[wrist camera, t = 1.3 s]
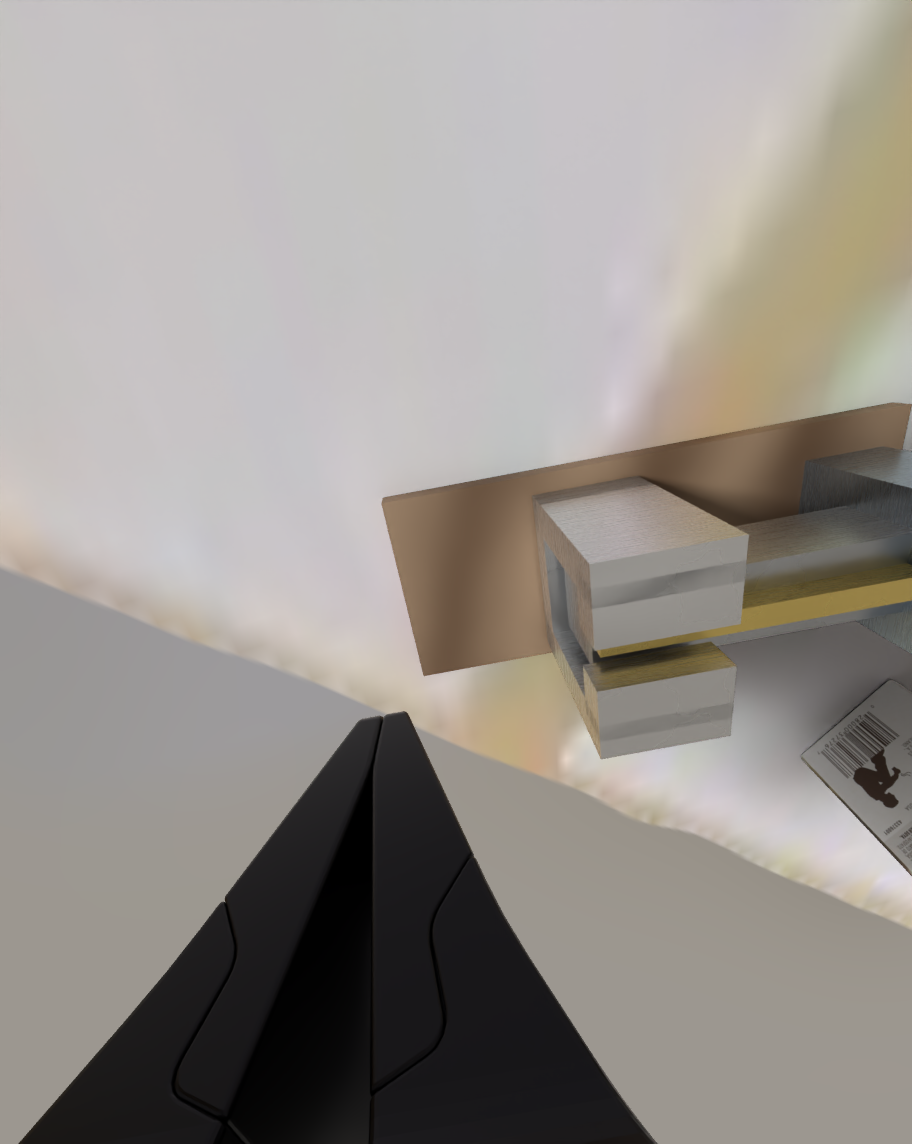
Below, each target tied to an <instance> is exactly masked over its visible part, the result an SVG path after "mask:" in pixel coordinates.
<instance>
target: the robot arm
mask: <svg viewBox="0 0 912 1144" xmlns="http://www.w3.org/2000/svg"><path fill="white" fill-rule="evenodd" d="M19 1144H657V1142H656V1141H655V1140H654V1139H653V1138H652V1136H651V1135H650V1134H649V1133H648V1131H647V1130H646V1129H645V1128H644V1126H643V1125H642V1124H641V1122H640V1121H639V1120H638V1119H637V1117H636V1116H635V1115H634V1113H633V1112H632V1111H631V1109H630V1108H629V1106H628V1105H627V1104H626V1102H625V1101H624V1100H623V1098H622V1097H621V1095H620V1094H619V1093H618V1091H617V1090H616V1088H615V1087H614V1085H613V1084H612V1083H611V1081H610V1080H609V1078H608V1077H607V1076H606V1074H605V1072H604V1071H603V1070H602V1068H601V1066H600V1065H599V1064H598V1062H597V1061H596V1059H595V1058H594V1056H593V1054H592V1053H591V1051H590V1050H589V1048H588V1047H587V1045H586V1044H585V1042H584V1041H583V1039H582V1038H581V1036H580V1034H579V1033H578V1032H577V1030H576V1028H575V1027H574V1026H573V1024H572V1022H571V1021H570V1019H569V1017H568V1016H567V1014H566V1013H565V1011H564V1010H563V1008H562V1007H561V1005H560V1004H559V1002H558V1001H557V999H556V998H555V996H554V994H553V993H552V991H551V990H550V988H549V987H548V985H547V984H546V982H545V980H544V979H543V977H542V976H541V974H540V973H539V971H538V970H537V968H536V967H535V965H534V963H533V962H532V960H531V959H530V957H529V956H528V954H527V953H526V951H525V949H524V948H523V946H522V944H521V943H520V941H519V939H518V938H517V936H516V934H515V933H514V931H513V929H512V928H511V926H510V924H509V923H508V921H507V919H506V918H505V916H504V915H503V913H502V910H501V908H500V907H499V905H498V903H497V901H496V899H495V897H494V895H493V893H492V891H491V889H490V887H489V885H488V883H487V881H486V879H485V877H484V875H483V873H482V871H481V868H480V866H479V864H478V862H477V860H476V859H475V858H474V854H473V852H472V850H471V848H470V845H469V843H468V841H467V839H466V837H465V835H464V833H463V831H462V828H461V826H460V824H459V822H458V820H457V818H456V816H455V813H454V811H453V809H452V807H451V805H450V803H449V800H448V799H447V796H446V794H445V792H444V790H443V788H442V786H441V783H440V781H439V779H438V777H437V775H436V773H435V771H434V768H433V766H432V764H431V762H430V760H429V758H428V756H427V753H426V751H425V749H424V747H423V745H422V743H421V741H420V739H419V736H418V734H417V732H416V730H415V728H414V726H413V723H412V721H411V719H410V717H409V715H408V713H407V712H405V711H403V712H397V713H392V714H387V715H386V716H384V718H383V717H381V716H376V717H370V718H365V719H361V720H360V721H358V722H357V724H356V725H355V727H354V728H353V729H352V730H351V732H350V733H349V734H348V736H347V737H346V738H345V740H344V741H343V742H342V743H341V745H340V746H339V747H338V749H337V750H336V751H335V753H334V754H333V755H332V757H331V758H330V759H329V761H328V762H327V763H326V765H325V766H324V767H323V768H322V770H321V771H320V773H319V774H318V775H317V776H316V778H315V779H314V780H313V782H312V783H311V784H310V786H309V787H308V788H307V790H306V791H305V792H304V793H303V795H302V796H301V797H300V799H299V800H298V802H297V803H296V804H295V805H294V807H293V808H292V809H291V811H290V812H289V813H288V815H287V816H286V817H285V819H284V820H283V821H282V822H281V824H280V825H279V826H278V828H277V829H276V830H275V832H274V833H273V834H272V836H271V837H270V838H269V840H268V841H267V842H266V844H265V845H264V846H263V847H262V849H261V850H260V851H259V853H258V854H257V855H256V857H255V858H254V859H253V861H252V862H251V863H250V865H249V866H248V867H247V869H246V870H245V871H244V872H243V874H242V875H241V876H240V878H239V879H238V880H237V882H236V883H235V884H234V886H233V887H232V888H231V890H230V891H229V892H228V894H227V895H226V896H225V902H221V903H220V904H219V905H218V907H217V908H216V909H215V910H214V912H213V913H212V914H211V916H210V917H209V918H208V920H207V921H206V922H205V923H204V925H203V926H202V927H201V929H200V930H199V931H198V933H197V934H196V935H195V936H194V938H193V939H192V940H191V942H190V943H189V944H188V945H187V947H186V948H185V949H184V950H183V952H182V953H181V954H180V955H179V957H178V958H177V959H176V960H175V962H174V963H173V964H172V965H171V967H170V968H169V970H168V971H167V972H166V973H165V974H164V975H163V977H162V978H161V979H160V980H159V981H158V983H157V984H156V985H155V986H154V987H153V989H152V990H151V991H150V992H149V993H148V994H147V996H146V997H145V998H144V999H143V1000H142V1001H141V1003H140V1004H139V1005H138V1006H137V1008H136V1009H135V1010H134V1011H133V1012H132V1013H131V1015H130V1016H129V1017H128V1018H127V1019H126V1021H125V1022H124V1023H123V1024H122V1025H121V1026H120V1027H119V1029H118V1030H117V1031H116V1032H115V1033H114V1034H113V1036H112V1037H111V1038H110V1039H109V1040H108V1041H107V1043H106V1044H105V1045H104V1046H103V1047H102V1048H101V1049H100V1050H99V1052H98V1053H97V1054H96V1055H95V1056H94V1057H93V1058H92V1060H91V1061H90V1062H89V1063H88V1064H87V1065H86V1067H85V1068H84V1069H83V1070H82V1071H81V1072H80V1073H79V1075H78V1076H77V1077H76V1078H75V1079H74V1080H73V1082H72V1083H71V1084H70V1085H69V1086H68V1087H67V1088H66V1090H65V1091H64V1092H63V1093H62V1094H61V1095H60V1096H59V1098H58V1099H57V1100H56V1101H55V1102H54V1103H53V1105H52V1106H51V1107H50V1108H49V1109H48V1110H47V1111H46V1113H45V1114H44V1115H43V1116H42V1117H41V1118H40V1120H39V1121H38V1122H37V1123H36V1124H35V1125H34V1126H33V1128H32V1129H31V1130H30V1131H29V1132H28V1133H27V1134H26V1136H25V1137H24V1138H23V1139H22V1140H21V1141H20V1142H19Z"/></svg>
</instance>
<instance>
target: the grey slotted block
mask: <svg viewBox="0 0 912 1144" xmlns="http://www.w3.org/2000/svg"><path fill="white" fill-rule="evenodd" d="M532 498H533V507H534V516H535V526H536V535H537V544H538V554H539V563H540V572H541V582H542V591H543V600H544V610H545V619H546V628H547V638H548V643H549V646H550V648H551V650H552V652H553V654H554V657H555V659H556V661H557V663H558V665H559V668H560V670H561V672H562V674H563V676H564V679H565V681H566V683H567V685H568V687H569V690H570V692H571V694H572V696H573V699H574V701H575V703H576V705H577V707H578V710H579V712H580V714H581V716H582V718H583V721H584V723H585V725H586V727H587V729H588V732H589V734H590V736H591V738H592V740H593V743H594V745H595V747H596V749H597V751H598V754H599V756H600V758H601V759H605V758H611V757H616V756H622V755H627V754H633V753H638V752H644V751H649V750H655V749H660V748H666V747H671V746H677V745H682V744H688V743H693V742H698V741H704V740H709V739H715V738H720V737H726V736H730V735H731V724H732V713H733V703H734V692H735V681H736V670H737V666H736V665H735V664H734V663H733V662H732V661H731V660H730V659H729V658H728V657H727V656H726V655H725V654H724V653H723V652H722V651H721V650H720V649H718V648H717V647H716V646H715V645H714V644H713V643H712V642H711V641H710V642H705V643H699V644H694V645H688V646H683V647H678V648H672V649H667V650H661V651H656V652H650V653H645V654H640V655H634V656H629V657H623V658H618V659H612V660H607V661H601V662H596V663H591V664H590V662H589V660H588V658H587V657H586V655H585V653H584V651H583V650H582V648H581V646H580V644H579V642H578V641H577V639H576V637H575V635H574V634H573V632H572V630H571V628H570V626H569V622H568V610H567V598H566V586H565V574H564V569H565V571H566V572H567V574H568V575H569V577H570V578H571V579H572V581H573V582H574V584H575V585H576V587H577V593H578V607H579V621H580V627H581V629H582V631H583V632H584V634H585V636H586V637H587V639H588V641H589V642H590V644H591V646H592V647H593V649H594V651H597V650H602V649H607V648H613V647H618V646H624V645H629V644H635V643H640V642H645V641H651V640H656V639H662V638H667V637H673V636H678V635H684V634H689V633H694V632H700V631H705V630H711V629H716V628H722V627H727V626H732V625H738V624H741V615H742V604H743V593H744V582H745V571H746V560H747V549H748V538H749V534H747V533H745V532H743V531H741V530H739V529H737V528H735V527H734V526H732V525H730V524H728V523H726V522H724V521H722V520H720V519H718V518H717V517H715V516H713V515H711V514H709V513H707V512H705V511H703V510H701V509H700V508H698V507H696V506H694V505H692V504H690V503H688V502H686V501H684V500H683V499H681V498H679V497H677V496H675V495H673V494H671V493H669V492H667V491H665V490H664V489H662V488H660V487H658V486H656V485H654V484H652V483H650V482H648V481H647V480H645V479H643V478H641V477H639V476H633V477H628V478H622V479H617V480H612V481H606V482H601V483H596V484H590V485H585V486H579V487H574V488H569V489H563V490H558V491H553V492H547V493H542V494H537V495H532Z"/></svg>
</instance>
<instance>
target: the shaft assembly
mask: <svg viewBox="0 0 912 1144" xmlns="http://www.w3.org/2000/svg"><path fill="white" fill-rule="evenodd" d="M734 527H735V528H737V529H739V530H741V531H743V532H745V533H747V534H749V538H748V549H747V560H746V571H745V582H744V593H743V604H742V615H741V624H738V625H732V626H727V627H722V628H716V629H711V630H705V631H700V632H694V633H689V634H684V635H678V636H673V637H667V638H662V639H656V640H651V641H645V642H640V643H635V644H629V645H624V646H618V647H613V648H607V649H602V650H597V651H594V649H593V647H592V646H591V644H590V642H589V641H588V639H587V637H586V636H585V634H584V632H583V631H582V629H581V627H580V621H579V607H578V593H577V587H576V585H575V584H574V582H573V581H572V579H571V578H570V577H569V575H568V574H567V572H566V571H565V569H564V574H565V586H566V598H567V610H568V622H569V626H570V628H571V630H572V632H573V634H574V635H575V637H576V639H577V641H578V642H579V644H580V646H581V648H582V650H583V651H584V653H585V655H586V657H587V658H588V660H589V662H590V664H591V663H596V662H601V661H607V660H612V659H618V658H623V657H629V656H634V655H640V654H645V653H650V652H656V651H661V650H667V649H672V648H678V647H683V646H688V645H694V644H699V643H705V642H710V641H711V642H712V643H713V644H714V645H715V646H721V645H726V644H732V643H737V642H743V641H748V640H753V639H759V638H764V637H770V636H775V635H781V634H786V633H792V632H797V631H802V630H808V629H813V628H819V627H824V626H830V625H835V624H841V623H846V622H851V621H857V622H858V623H860V624H862V625H863V626H865V627H867V628H868V629H870V630H872V631H873V632H875V633H877V634H878V635H880V636H882V637H883V638H885V639H887V640H888V641H890V642H892V643H893V644H895V645H897V646H898V647H900V648H902V649H903V650H905V651H907V652H908V653H910V654H912V452H911V451H906V450H900V449H895V448H890V447H884V446H882V447H876V448H871V449H865V450H860V451H855V452H849V453H844V454H839V455H833V456H828V457H823V458H817V459H812V460H806V461H805V467H804V475H803V482H802V489H801V497H800V504H799V512H798V515H793V516H787V517H782V518H777V519H771V520H766V521H760V522H755V523H750V524H744V525H739V526H734Z"/></svg>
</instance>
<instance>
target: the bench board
mask: <svg viewBox="0 0 912 1144" xmlns="http://www.w3.org/2000/svg"><path fill="white" fill-rule="evenodd" d="M911 406H912V404H903V403H887V404H882V405H877V406H871V407H866V408H860V409H855V410H850V411H844V412H839V413H834V414H828V415H823V416H818V417H812V418H807V419H802V420H796V421H791V422H786V423H780V424H775V425H770V426H764V427H759V428H754V429H748V430H743V431H738V432H732V433H727V434H722V435H716V436H711V437H705V438H700V439H695V440H689V441H684V442H679V443H673V444H668V445H663V446H657V447H652V448H647V449H641V450H636V451H631V452H625V453H620V454H615V455H609V456H604V457H599V458H593V459H588V460H583V461H577V462H572V463H566V464H561V465H556V466H550V467H545V468H540V469H534V470H529V471H524V472H518V473H513V474H508V475H502V476H497V477H492V478H486V479H481V480H476V481H470V482H465V483H460V484H454V485H449V486H444V487H438V488H433V489H427V490H422V491H417V492H411V493H406V494H401V495H395V496H390V497H385V498H383V500H382V508H383V512H384V516H385V520H386V524H387V528H388V532H389V536H390V540H391V544H392V548H393V552H394V557H395V561H396V565H397V569H398V573H399V577H400V581H401V585H402V589H403V593H404V597H405V601H406V605H407V610H408V614H409V618H410V622H411V626H412V630H413V634H414V638H415V642H416V646H417V650H418V654H419V659H420V663H421V667H422V671H423V675H424V676H427V675H432V674H437V673H443V672H448V671H454V670H459V669H465V668H470V667H475V666H481V665H486V664H492V663H497V662H503V661H508V660H513V659H519V658H524V657H530V656H535V655H541V654H546V653H551V652H552V650H551V648H550V646H549V643H548V638H547V628H546V619H545V610H544V600H543V591H542V582H541V572H540V563H539V554H538V544H537V535H536V526H535V516H534V507H533V498H532V495H537V494H542V493H547V492H553V491H558V490H563V489H569V488H574V487H579V486H585V485H590V484H596V483H601V482H606V481H612V480H617V479H622V478H628V477H633V476H639V477H641V478H643V479H645V480H647V481H648V482H650V483H652V484H654V485H656V486H658V487H660V488H662V489H664V490H665V491H667V492H669V493H671V494H673V495H675V496H677V497H679V498H681V499H683V500H684V501H686V502H688V503H690V504H692V505H694V506H696V507H698V508H700V509H701V510H703V511H705V512H707V513H709V514H711V515H713V516H715V517H717V518H718V519H720V520H722V521H724V522H726V523H728V524H730V525H732V526H739V525H744V524H750V523H755V522H760V521H766V520H771V519H777V518H782V517H787V516H793V515H798V512H799V504H800V497H801V489H802V482H803V475H804V467H805V461H806V460H812V459H817V458H823V457H828V456H833V455H839V454H844V453H849V452H855V451H860V450H865V449H871V448H876V447H882V446H884V447H890V448H895V449H900V450H902V447H903V443H904V438H905V434H906V429H907V424H908V420H909V415H910V411H911Z"/></svg>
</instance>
